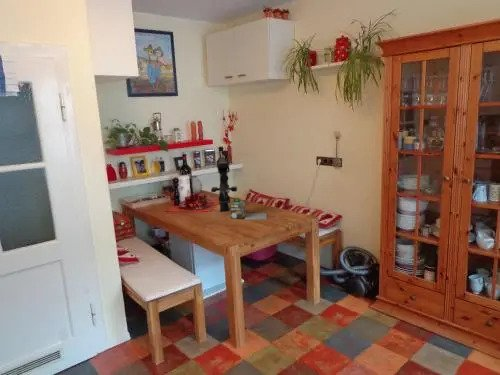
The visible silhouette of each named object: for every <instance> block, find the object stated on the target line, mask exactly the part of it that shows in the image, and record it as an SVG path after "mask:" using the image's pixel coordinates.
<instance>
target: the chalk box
mask: <svg viewBox="0 0 500 375" xmlns="http://www.w3.org/2000/svg"><path fill="white" fill-rule="evenodd" d="M232 199H233V200H232V201H230V203H228V204H229V212H230V219H244V218H245V215H246V214H247V212H246V211H247V210H246V204H245V203H246V202H245V201H246V200H240V198H239V197H233V198H232Z"/></svg>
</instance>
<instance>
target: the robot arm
mask: <svg viewBox="0 0 500 375" xmlns="http://www.w3.org/2000/svg"><path fill="white" fill-rule="evenodd" d="M215 163H216V166H215V167H216V169H217V173H218V174H219V187H218V186H212V187H211V189H210V191H211V192H212V193H216V192H218V204H219V208H220V209H219V212H229V211H230V205H229V204H230V203H231V197H230V195H229V193H230V191H231V192H237V191H238V187H237V186H234V185H233V186H231V187H230V184H229V181H228V180H229V175H228V174H229V173H230V165H229V163H228V160H227V159H226V158H225V157H224V156H222V157H218V159H217V160H216V161H215Z"/></svg>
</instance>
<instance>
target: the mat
mask: <svg viewBox="0 0 500 375" xmlns="http://www.w3.org/2000/svg"><path fill="white" fill-rule="evenodd" d="M267 213H268V212H259V213H258V212H257V213H255V212H252V213H249V212H248V213H247V212H246V215H245V216H244V218H243V219H244V220H243V221H260V220H261V221H262V220H264V221H265V220H267V217H268V214H267Z"/></svg>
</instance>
